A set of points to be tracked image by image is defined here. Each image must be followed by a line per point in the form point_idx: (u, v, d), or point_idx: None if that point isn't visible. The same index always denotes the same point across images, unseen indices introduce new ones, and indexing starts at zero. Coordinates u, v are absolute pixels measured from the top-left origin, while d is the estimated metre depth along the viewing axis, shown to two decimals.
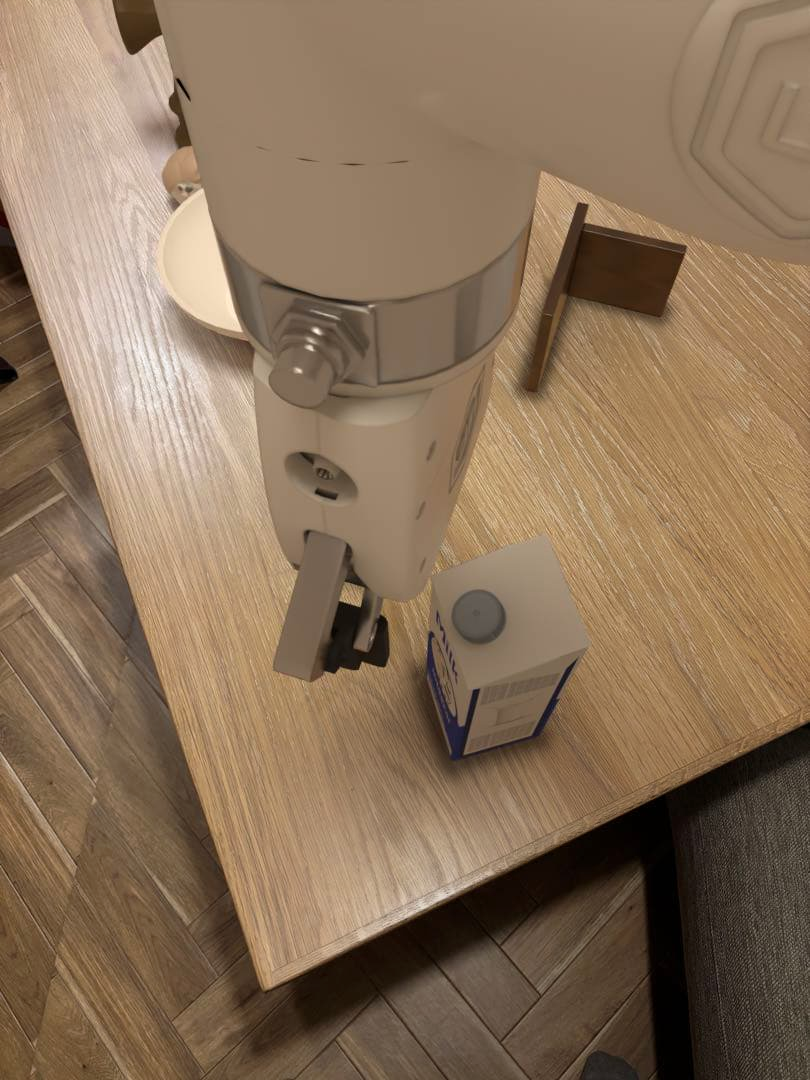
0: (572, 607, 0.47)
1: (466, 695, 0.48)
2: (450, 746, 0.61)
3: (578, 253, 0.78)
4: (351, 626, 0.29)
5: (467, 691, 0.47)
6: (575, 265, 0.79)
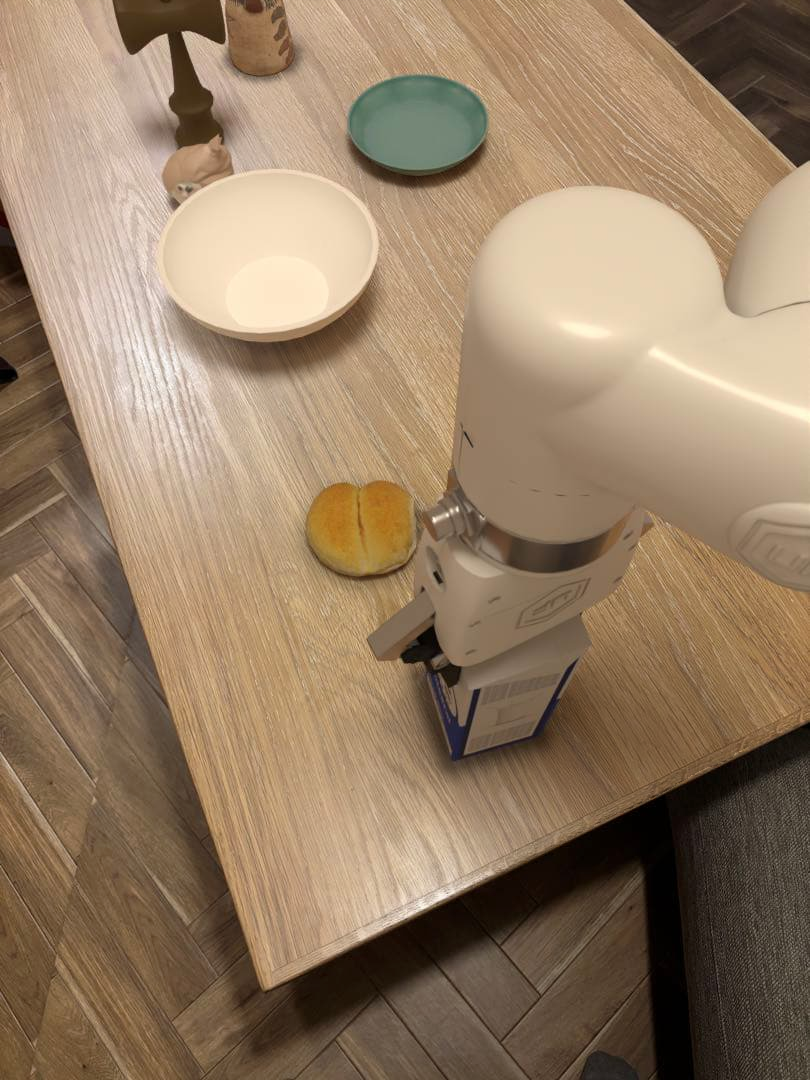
0: None
1: (467, 695, 0.48)
2: (450, 746, 0.61)
3: None
4: (430, 650, 0.44)
5: (468, 691, 0.47)
6: None
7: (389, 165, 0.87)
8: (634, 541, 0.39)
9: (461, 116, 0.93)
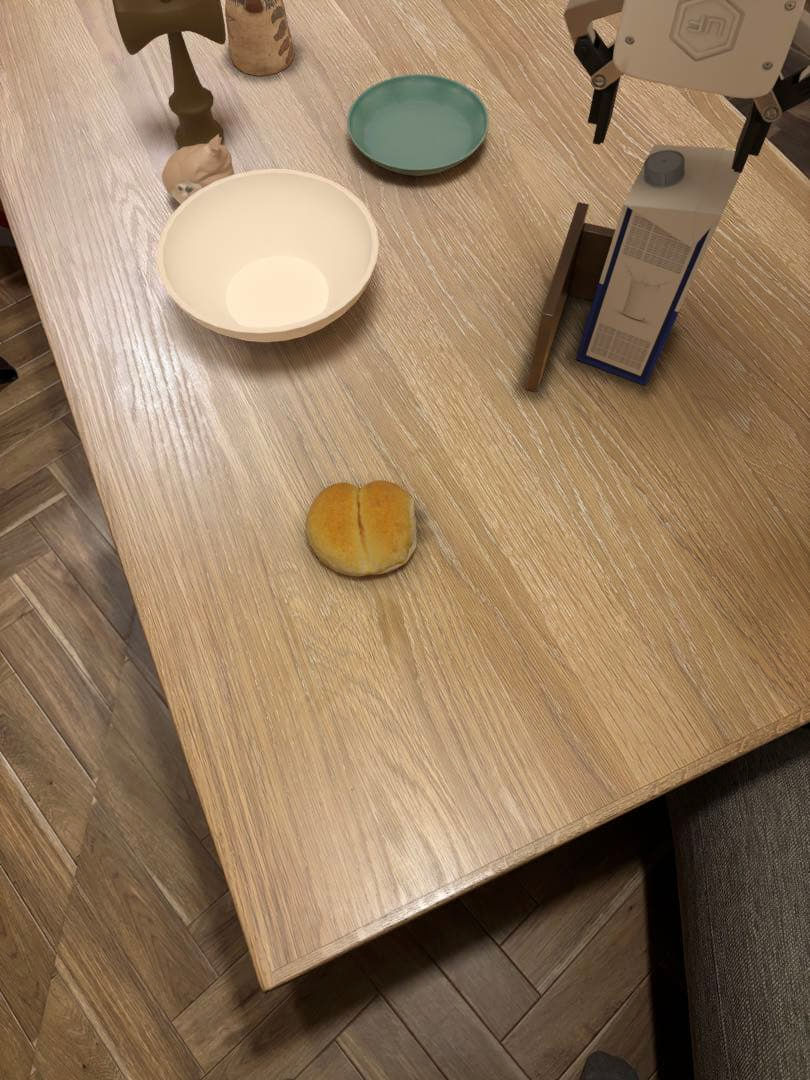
0: (728, 193, 0.61)
1: (619, 219, 0.64)
2: None
3: (578, 253, 0.78)
4: (600, 58, 0.56)
5: (621, 211, 0.63)
6: (575, 265, 0.79)
7: (389, 165, 0.87)
8: None
9: (461, 116, 0.93)
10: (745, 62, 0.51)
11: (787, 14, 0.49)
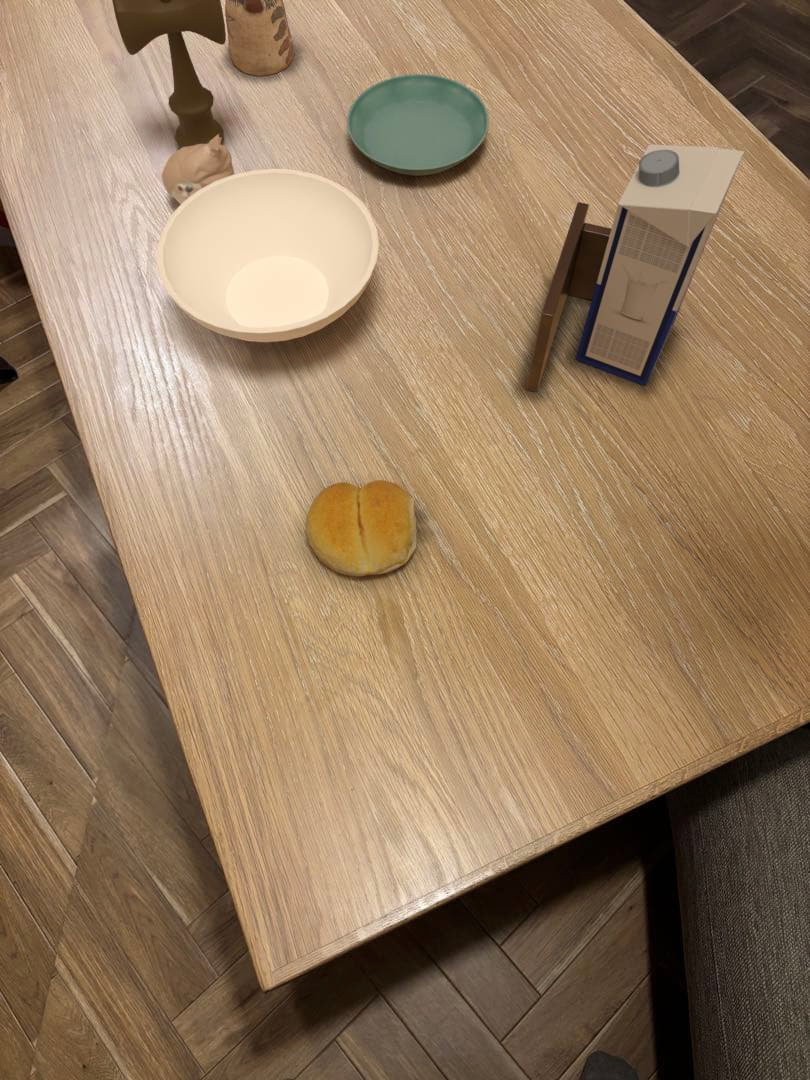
0: (722, 191, 0.61)
1: (614, 219, 0.64)
2: None
3: (578, 253, 0.78)
4: None
5: (617, 211, 0.63)
6: (575, 265, 0.79)
7: (389, 165, 0.87)
8: None
9: (461, 116, 0.93)
10: None
11: None
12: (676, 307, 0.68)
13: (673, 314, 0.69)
